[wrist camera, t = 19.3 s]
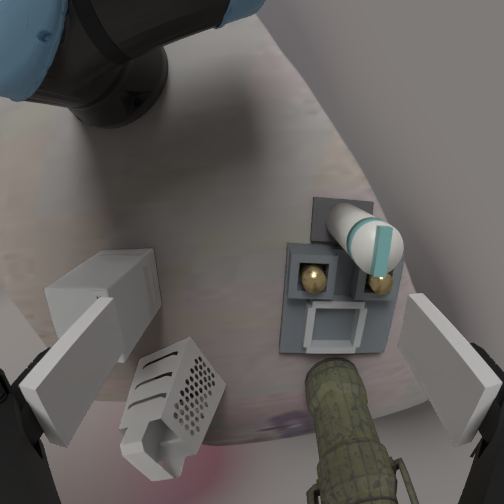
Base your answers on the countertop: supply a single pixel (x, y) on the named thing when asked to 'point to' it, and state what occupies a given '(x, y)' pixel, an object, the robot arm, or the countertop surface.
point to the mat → (321, 211)
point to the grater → (168, 411)
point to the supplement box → (109, 292)
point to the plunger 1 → (312, 277)
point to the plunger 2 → (380, 283)
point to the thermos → (349, 441)
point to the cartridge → (365, 239)
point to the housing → (334, 305)
